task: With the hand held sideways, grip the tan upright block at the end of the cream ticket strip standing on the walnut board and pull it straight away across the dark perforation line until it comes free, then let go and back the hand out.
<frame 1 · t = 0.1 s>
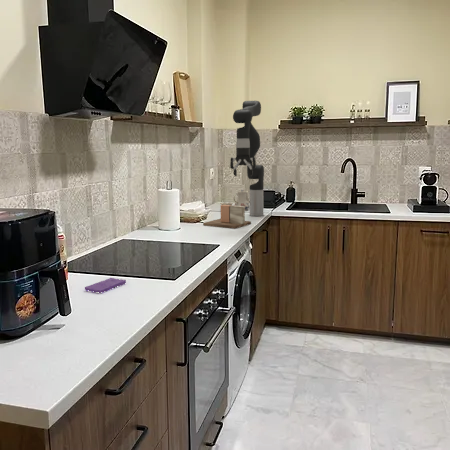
hand: (243, 176, 259), 29 cm above the worktop, tool pointing down, fingers open, 8 cm apart
chinaware: (238, 210, 334), on the worktop
ticket stand: (227, 224, 274), on the worktop
tan upright block: (226, 213, 273), point 7 cm above the worktop, slide at 0.0 cm
sponges: (106, 289, 157), on the worktop
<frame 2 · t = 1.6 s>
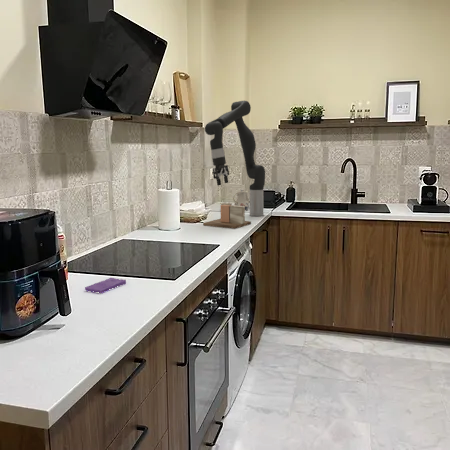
hand: (223, 184, 272), 24 cm above the worktop, tool pointing down, fingers open, 8 cm apart
nothing on the worktop moved.
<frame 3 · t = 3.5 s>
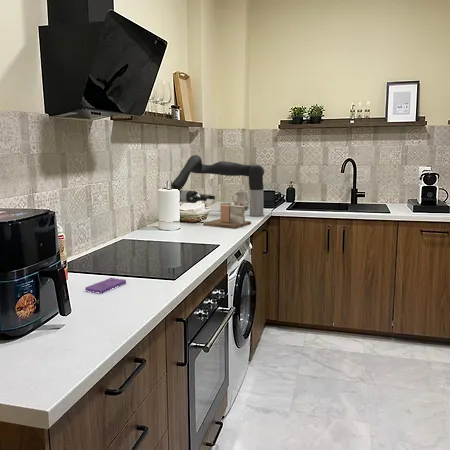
hand: (210, 198, 277), 15 cm above the worktop, tool horizontal, fingers open, 8 cm apart
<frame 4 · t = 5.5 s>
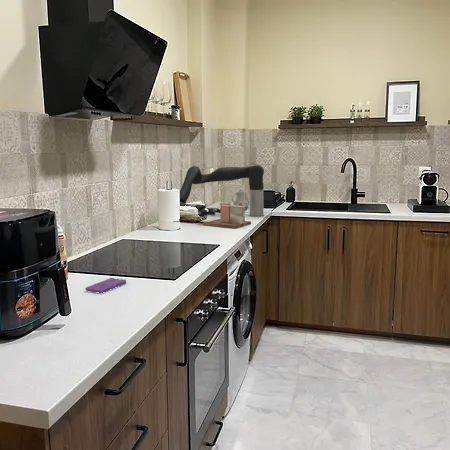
hand: (218, 212, 275), 7 cm above the worktop, tool horizontal, fingers open, 8 cm apart
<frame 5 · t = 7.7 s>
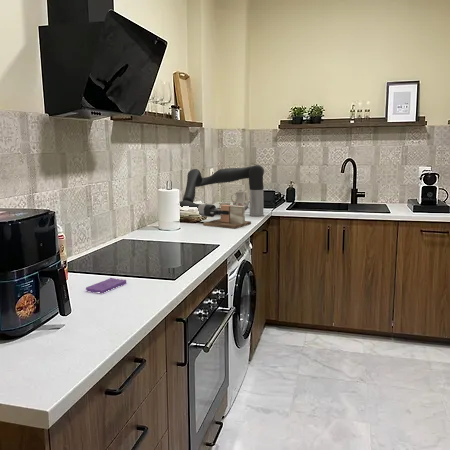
hand: (230, 212, 271), 8 cm above the worktop, tool horizontal, fingers closed on tan upright block, 3 cm apart
tan upright block: (226, 213, 273), point 7 cm above the worktop, slide at 0.0 cm, touching gripper
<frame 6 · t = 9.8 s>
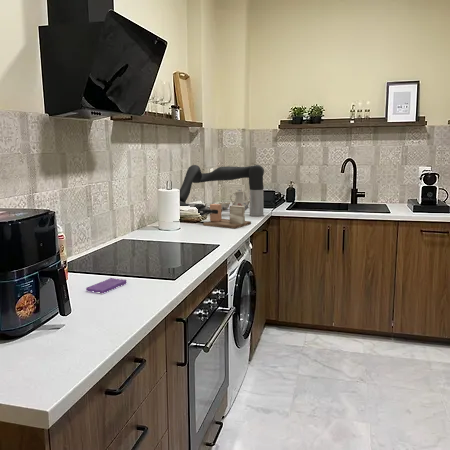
hand: (219, 211, 275), 8 cm above the worktop, tool horizontal, fingers closed on tan upright block, 3 cm apart
tan upright block: (215, 212, 277), point 7 cm above the worktop, slide at 7.7 cm, touching gripper
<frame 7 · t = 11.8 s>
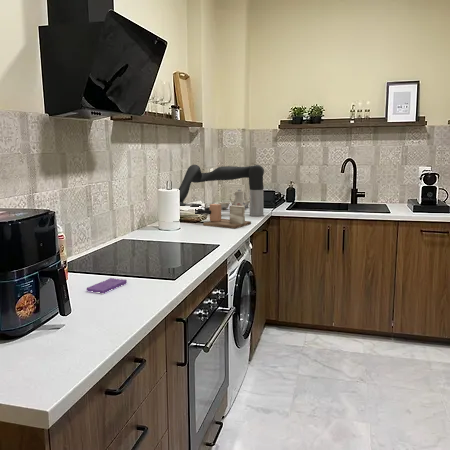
hand: (215, 211, 277), 7 cm above the worktop, tool horizontal, fingers open, 8 cm apart
tan upright block: (215, 212, 277), point 7 cm above the worktop, slide at 7.9 cm
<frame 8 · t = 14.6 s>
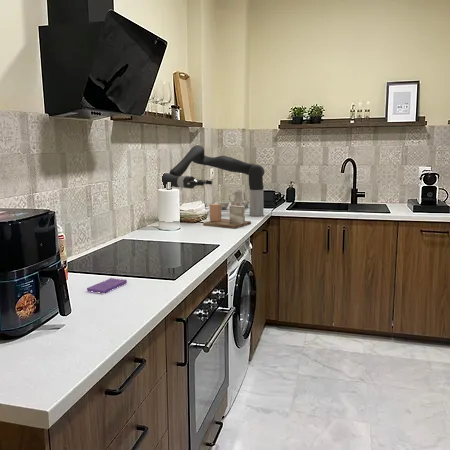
hand: (207, 183, 278), 24 cm above the worktop, tool horizontal, fingers open, 8 cm apart
at the end: tan upright block slide at 7.9 cm; the gripper is holding nothing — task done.
